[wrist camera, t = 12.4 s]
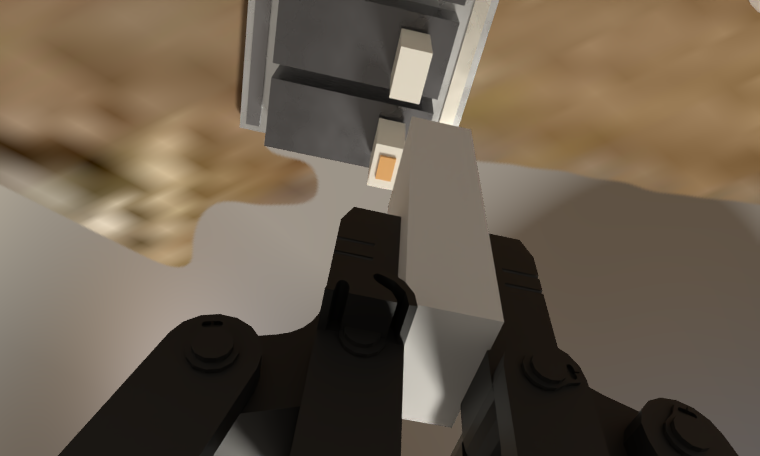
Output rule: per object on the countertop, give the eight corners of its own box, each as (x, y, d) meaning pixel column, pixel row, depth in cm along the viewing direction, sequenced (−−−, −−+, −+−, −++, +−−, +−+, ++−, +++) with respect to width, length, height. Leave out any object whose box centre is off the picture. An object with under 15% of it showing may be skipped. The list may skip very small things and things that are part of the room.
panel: (264, -161, 31) (246, -164, 28) (524, -93, 33) (538, -88, 29) (243, 121, 41) (228, 144, 38) (443, 163, 43) (446, 190, 39)
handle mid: (401, 27, 33) (401, 46, 29) (430, 34, 33) (432, 53, 29) (390, 75, 34) (389, 97, 31) (418, 81, 34) (419, 104, 31)
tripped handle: (379, 117, 36) (376, 144, 32) (405, 123, 36) (405, 151, 33) (370, 157, 38) (366, 186, 34) (395, 162, 38) (394, 192, 34)
